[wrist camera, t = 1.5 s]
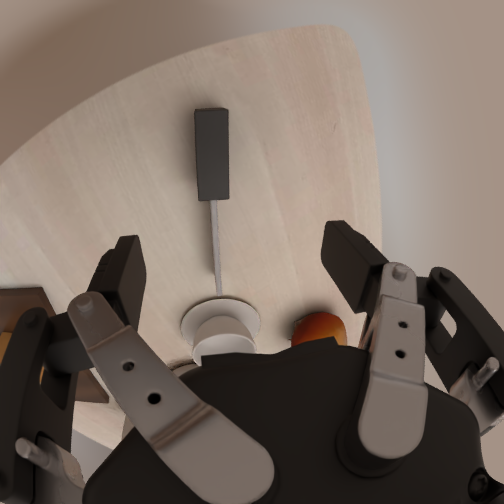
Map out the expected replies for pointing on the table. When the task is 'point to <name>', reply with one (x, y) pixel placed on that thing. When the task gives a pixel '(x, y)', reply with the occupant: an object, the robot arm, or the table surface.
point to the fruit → (319, 328)
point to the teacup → (220, 328)
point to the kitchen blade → (212, 169)
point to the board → (20, 300)
